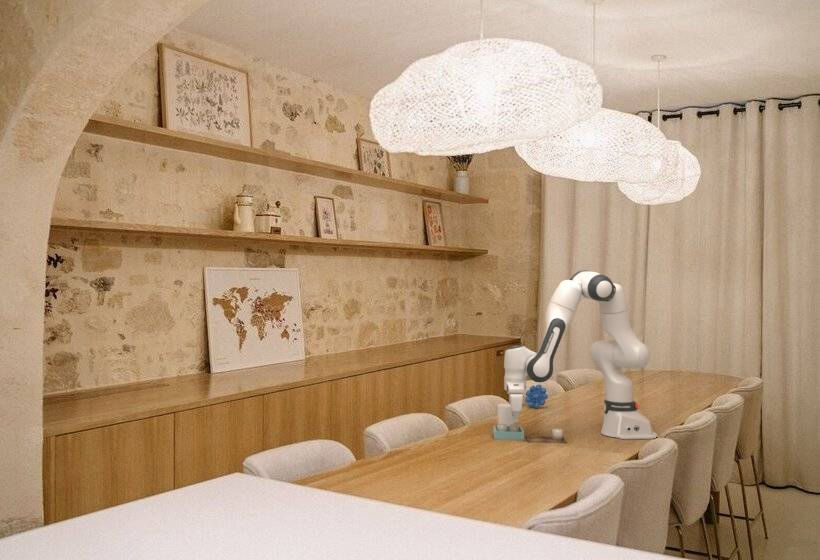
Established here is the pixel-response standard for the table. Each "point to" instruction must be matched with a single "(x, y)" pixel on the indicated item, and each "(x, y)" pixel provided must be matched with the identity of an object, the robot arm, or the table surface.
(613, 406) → the robot arm
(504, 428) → the pebble
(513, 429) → the pebble
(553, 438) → the pebble
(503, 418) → the white cup
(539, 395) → the grapes
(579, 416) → the table surface
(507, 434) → the teal square bin
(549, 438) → the tray
